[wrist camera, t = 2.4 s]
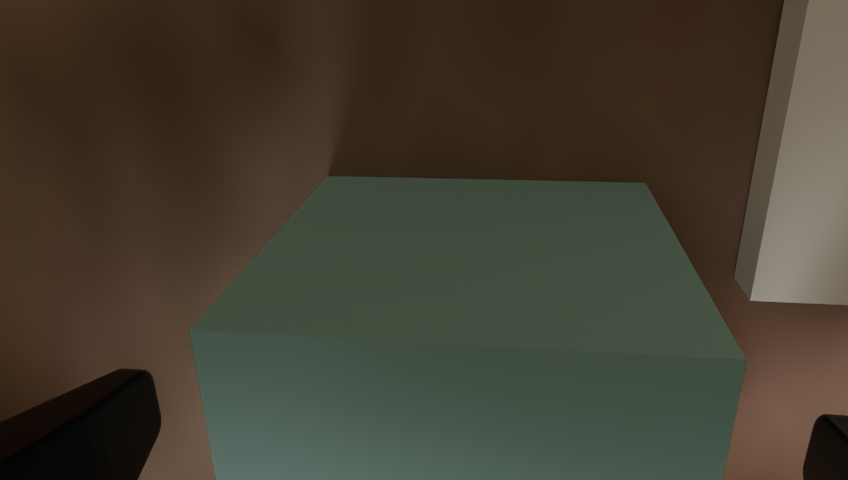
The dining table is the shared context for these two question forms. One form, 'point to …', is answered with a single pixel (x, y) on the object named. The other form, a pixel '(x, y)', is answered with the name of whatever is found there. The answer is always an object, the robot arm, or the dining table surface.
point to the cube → (469, 340)
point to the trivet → (801, 165)
